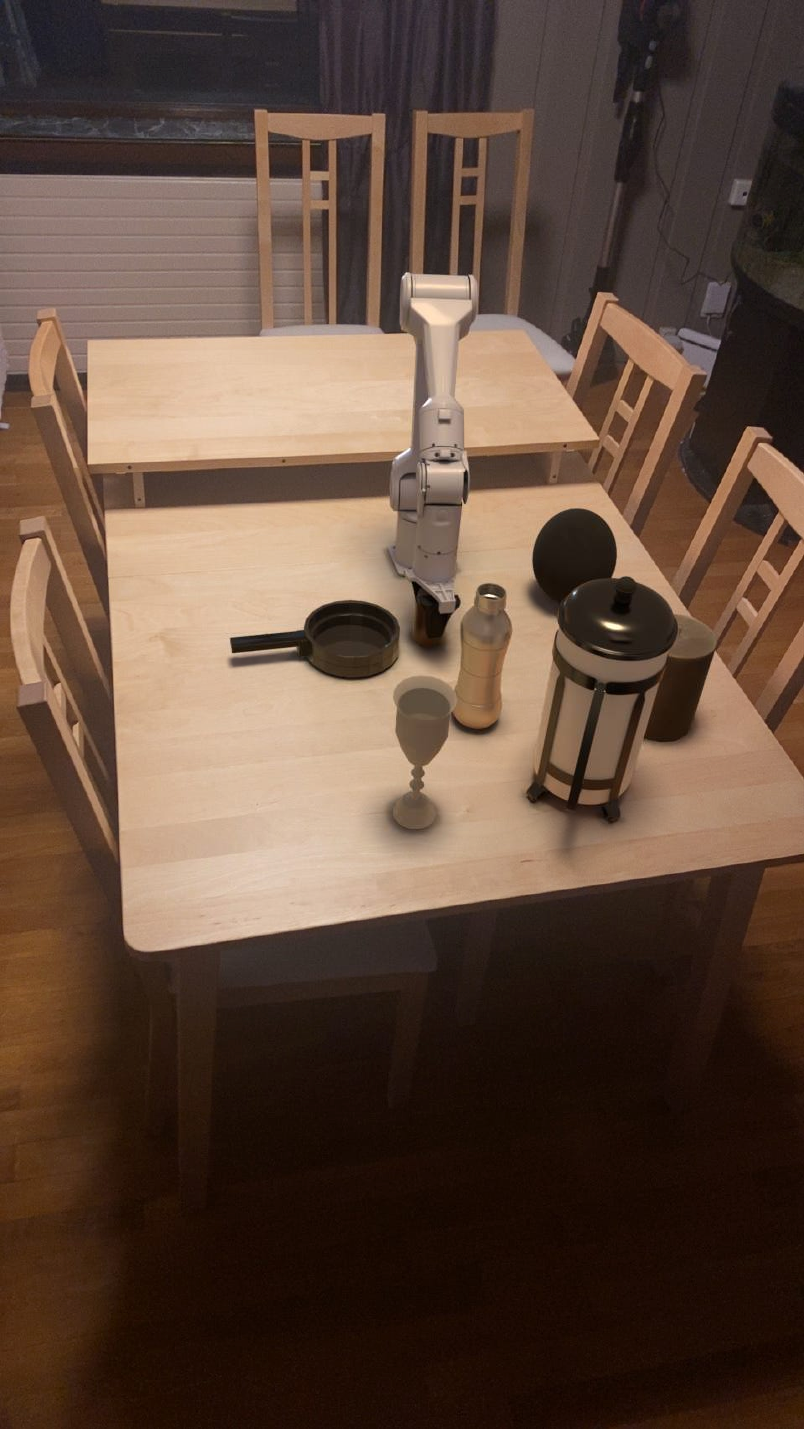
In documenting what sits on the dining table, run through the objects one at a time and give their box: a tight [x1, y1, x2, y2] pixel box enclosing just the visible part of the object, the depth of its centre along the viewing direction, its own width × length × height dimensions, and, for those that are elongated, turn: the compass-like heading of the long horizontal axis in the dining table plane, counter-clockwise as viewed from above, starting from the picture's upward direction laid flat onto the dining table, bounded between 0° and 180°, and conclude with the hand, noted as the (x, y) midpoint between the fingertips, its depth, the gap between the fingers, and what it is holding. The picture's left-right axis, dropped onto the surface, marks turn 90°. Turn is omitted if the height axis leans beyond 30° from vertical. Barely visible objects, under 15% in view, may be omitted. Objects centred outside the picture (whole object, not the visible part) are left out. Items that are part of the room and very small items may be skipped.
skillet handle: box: [229, 629, 307, 658], centre depth 137 cm, size 10×3×3 cm, turn 104°
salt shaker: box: [412, 588, 446, 649], centre depth 141 cm, size 5×5×8 cm
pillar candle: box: [644, 613, 718, 742], centre depth 129 cm, size 10×10×15 cm
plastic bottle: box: [452, 582, 513, 730], centre depth 125 cm, size 6×7×20 cm
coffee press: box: [525, 575, 678, 822], centre depth 113 cm, size 17×16×30 cm
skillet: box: [303, 599, 401, 678], centre depth 140 cm, size 13×13×4 cm
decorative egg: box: [531, 507, 618, 605], centre depth 148 cm, size 12×12×15 cm
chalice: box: [392, 675, 457, 830], centre depth 112 cm, size 7×7×18 cm
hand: (429, 625), depth 143 cm, fingers closed on salt shaker, 4 cm apart
